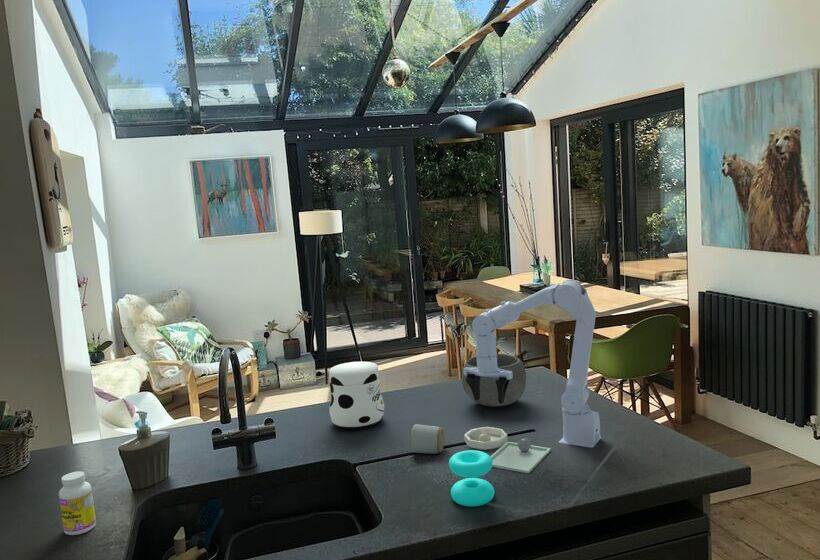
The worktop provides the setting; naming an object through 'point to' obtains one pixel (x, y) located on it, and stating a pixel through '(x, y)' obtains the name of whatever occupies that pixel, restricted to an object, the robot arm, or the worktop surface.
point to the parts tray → (518, 457)
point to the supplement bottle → (76, 504)
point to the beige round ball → (484, 437)
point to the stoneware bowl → (496, 441)
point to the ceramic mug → (427, 439)
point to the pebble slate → (524, 444)
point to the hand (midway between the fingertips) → (489, 401)
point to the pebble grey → (475, 434)
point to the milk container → (355, 395)
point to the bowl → (489, 383)
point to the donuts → (471, 488)
